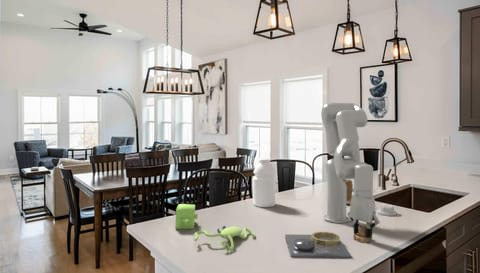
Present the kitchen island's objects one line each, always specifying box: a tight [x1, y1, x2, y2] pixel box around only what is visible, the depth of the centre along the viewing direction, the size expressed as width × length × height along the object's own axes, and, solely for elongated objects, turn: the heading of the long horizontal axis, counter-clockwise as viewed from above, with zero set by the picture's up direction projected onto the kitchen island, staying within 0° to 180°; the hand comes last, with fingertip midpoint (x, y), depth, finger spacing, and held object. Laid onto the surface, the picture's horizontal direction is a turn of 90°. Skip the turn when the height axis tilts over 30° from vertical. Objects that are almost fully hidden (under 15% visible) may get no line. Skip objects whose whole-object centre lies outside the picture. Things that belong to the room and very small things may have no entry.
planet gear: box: [352, 225, 373, 244], centre depth 141 cm, size 8×8×6 cm
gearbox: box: [175, 203, 199, 230], centre depth 160 cm, size 18×10×10 cm, turn 4°
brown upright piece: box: [342, 179, 354, 205], centre depth 202 cm, size 15×12×15 cm
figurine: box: [193, 225, 256, 254], centre depth 140 cm, size 18×27×6 cm
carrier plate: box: [284, 231, 351, 258], centre depth 133 cm, size 20×22×4 cm
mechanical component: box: [376, 204, 397, 217], centre depth 181 cm, size 10×4×10 cm
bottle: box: [252, 157, 277, 208], centre depth 200 cm, size 14×14×28 cm
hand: (362, 234), depth 141 cm, fingers open, 5 cm apart
